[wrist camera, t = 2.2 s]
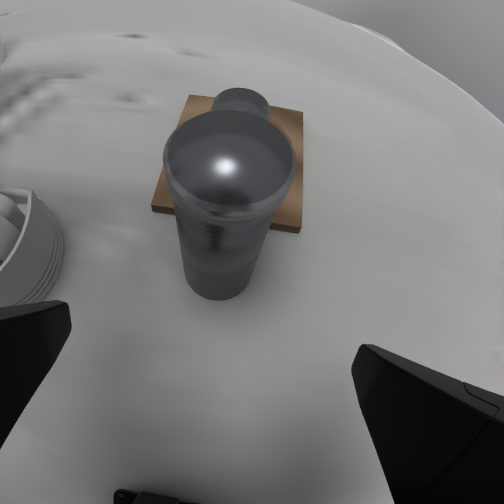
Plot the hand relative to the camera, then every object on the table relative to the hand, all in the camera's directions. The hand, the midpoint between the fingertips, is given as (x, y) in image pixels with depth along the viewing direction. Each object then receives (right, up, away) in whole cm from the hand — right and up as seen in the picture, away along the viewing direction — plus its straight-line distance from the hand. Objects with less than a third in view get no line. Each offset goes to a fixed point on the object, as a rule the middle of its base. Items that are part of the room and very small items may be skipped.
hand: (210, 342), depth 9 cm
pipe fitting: (-1, +2, +16) cm, 16 cm away
